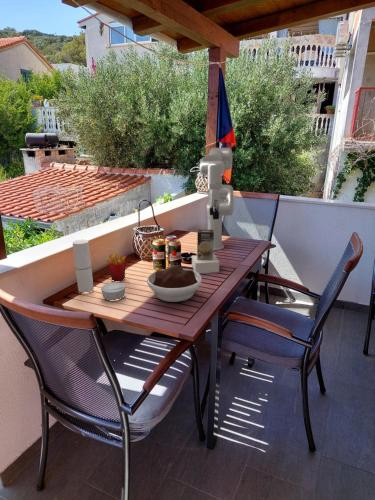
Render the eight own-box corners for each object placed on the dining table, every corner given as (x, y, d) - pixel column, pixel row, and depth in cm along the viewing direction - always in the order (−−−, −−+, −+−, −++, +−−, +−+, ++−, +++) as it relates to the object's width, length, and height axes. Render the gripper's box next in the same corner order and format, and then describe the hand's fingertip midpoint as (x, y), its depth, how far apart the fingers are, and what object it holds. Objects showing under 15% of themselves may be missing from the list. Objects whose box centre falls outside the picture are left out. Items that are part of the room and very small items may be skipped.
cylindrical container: (80, 295, 161) (74, 244, 153) (77, 289, 167) (71, 241, 159) (95, 292, 164) (90, 242, 156) (91, 287, 170) (86, 238, 162)
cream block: (192, 265, 197) (191, 255, 195) (214, 264, 199) (214, 254, 197) (195, 273, 185) (195, 263, 183) (219, 272, 187) (219, 261, 185)
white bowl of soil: (153, 284, 171) (152, 256, 167) (203, 286, 169) (203, 257, 164) (142, 308, 148) (140, 275, 143) (199, 310, 145) (199, 277, 140)
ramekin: (114, 304, 151) (113, 294, 150) (96, 299, 157) (95, 288, 155) (131, 295, 160) (130, 285, 159) (113, 290, 166) (113, 280, 164)
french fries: (116, 277, 182) (113, 250, 177) (129, 278, 179) (127, 251, 175) (107, 283, 174) (104, 255, 169) (121, 285, 171) (119, 257, 167)
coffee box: (196, 260, 188) (196, 232, 183) (197, 256, 194) (197, 229, 189) (213, 260, 187) (213, 232, 182) (213, 256, 193) (213, 229, 188)
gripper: (205, 183, 191) (205, 213, 197) (210, 188, 175) (210, 221, 181) (218, 183, 192) (217, 213, 198) (224, 188, 176) (224, 220, 182)
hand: (214, 216), depth 189 cm, fingers open, 9 cm apart
